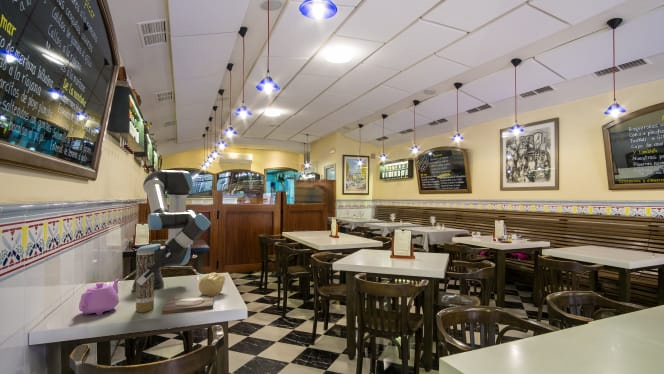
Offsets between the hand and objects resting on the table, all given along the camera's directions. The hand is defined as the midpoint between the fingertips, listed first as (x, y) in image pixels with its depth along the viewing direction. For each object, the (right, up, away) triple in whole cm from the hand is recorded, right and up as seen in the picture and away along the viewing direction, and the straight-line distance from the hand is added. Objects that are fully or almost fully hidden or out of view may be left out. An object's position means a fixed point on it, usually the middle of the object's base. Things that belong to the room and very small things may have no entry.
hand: (142, 279), depth 147 cm
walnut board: (+18, -13, +6) cm, 23 cm away
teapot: (-18, -14, 0) cm, 23 cm away
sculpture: (+21, -14, +25) cm, 36 cm away
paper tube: (+1, -14, 0) cm, 14 cm away
